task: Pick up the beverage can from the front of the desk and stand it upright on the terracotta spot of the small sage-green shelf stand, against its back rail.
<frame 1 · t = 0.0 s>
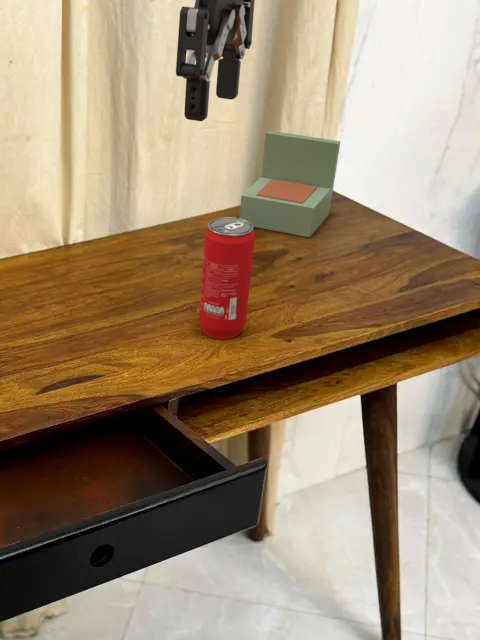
hand: (211, 108, 101), 22 cm above the table, tool pointing down, fingers open, 8 cm apart
beverage can: (221, 331, 110), on the table
shelf stand: (284, 219, 135), on the table
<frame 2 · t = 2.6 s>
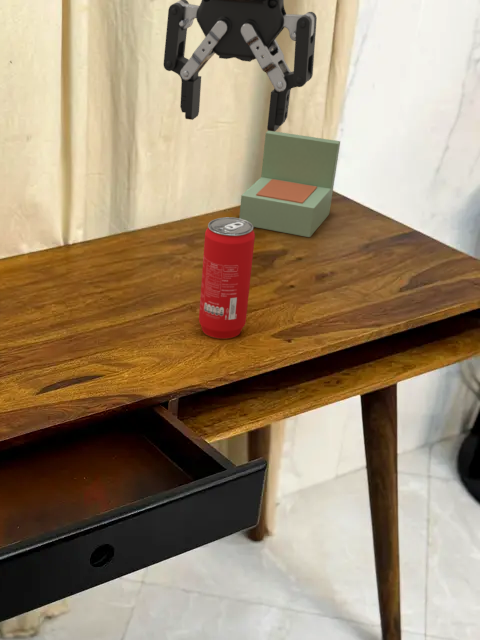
hand: (232, 123, 98), 22 cm above the table, tool pointing down, fingers open, 8 cm apart
nothing on the table moved.
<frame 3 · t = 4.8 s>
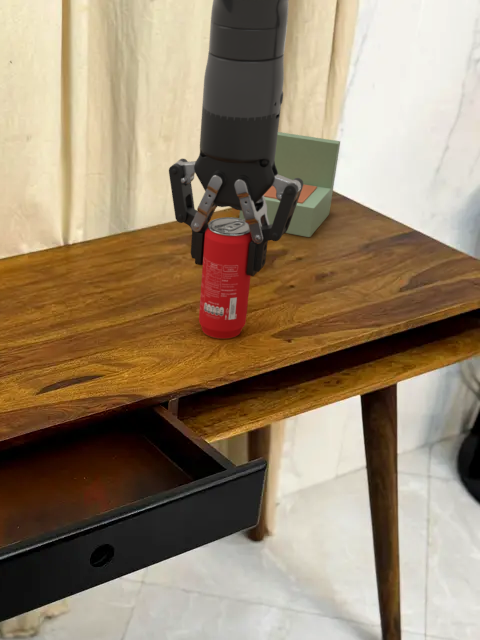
hand: (227, 267, 105), 7 cm above the table, tool pointing down, fingers closed on beverage can, 5 cm apart
beverage can: (221, 331, 110), on the table, touching gripper
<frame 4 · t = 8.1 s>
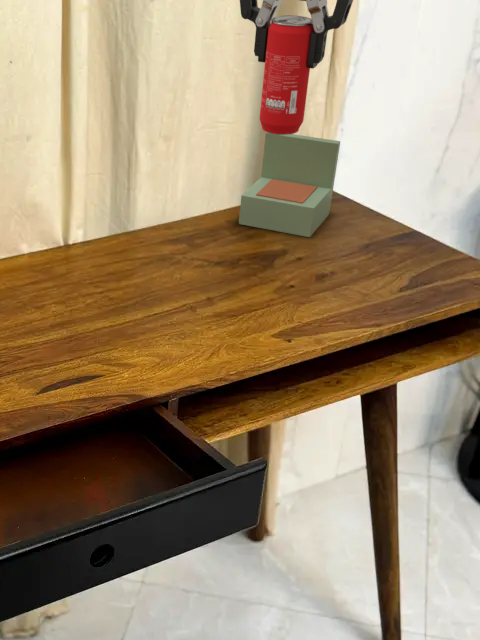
hand: (287, 63, 114), 22 cm above the table, tool pointing down, fingers closed on beverage can, 5 cm apart
beverage can: (280, 130, 118), point 15 cm above the table, touching gripper
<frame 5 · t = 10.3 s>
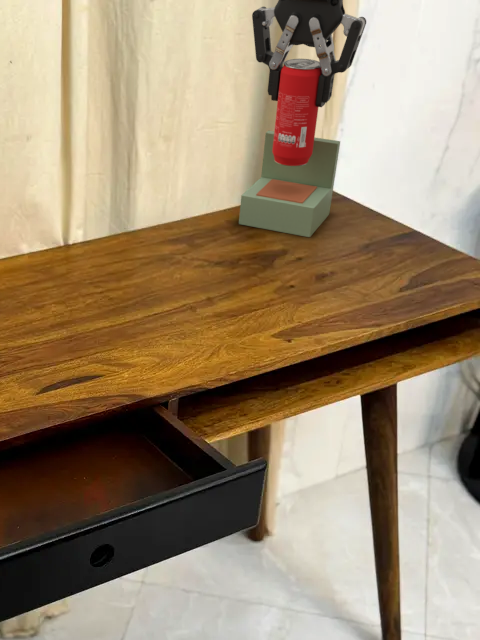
hand: (298, 101, 125), 16 cm above the table, tool pointing down, fingers closed on beverage can, 5 cm apart
beverage can: (291, 162, 130), point 8 cm above the table, touching gripper
when the fingers open (12 cm above the table, at t = 11.8 s): beverage can stays where it is, resting on shelf stand.
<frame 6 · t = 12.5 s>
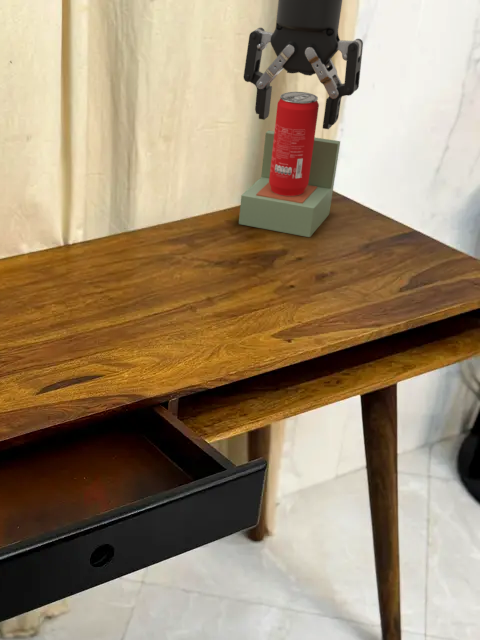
hand: (295, 122, 127), 13 cm above the table, tool pointing down, fingers open, 8 cm apart
beverage can: (287, 191, 132), point 4 cm above the table, touching shelf stand
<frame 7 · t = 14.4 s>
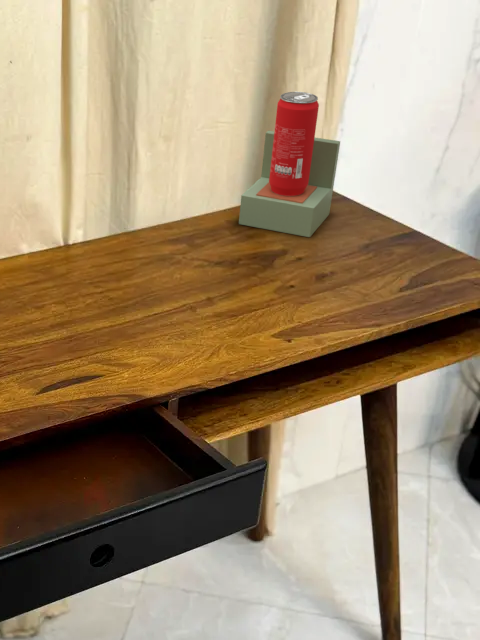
nothing on the table moved.
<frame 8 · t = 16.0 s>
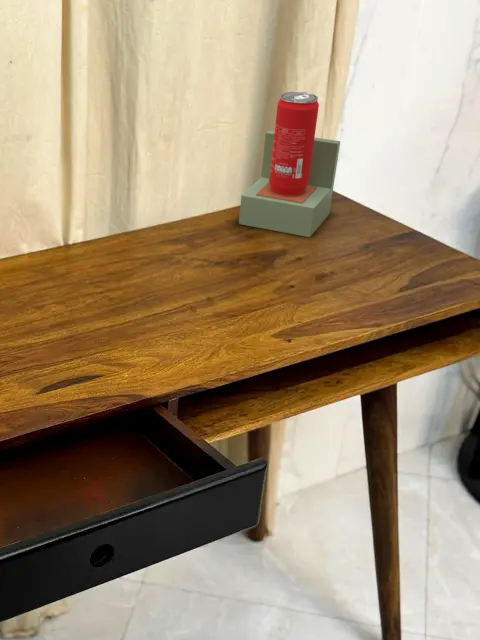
nothing on the table moved.
at the end: beverage can 0.1 cm off-centre on the shelf stand, point 4.0 cm above the shelf stand's base; beverage can tilted 0°; the gripper is holding nothing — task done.
